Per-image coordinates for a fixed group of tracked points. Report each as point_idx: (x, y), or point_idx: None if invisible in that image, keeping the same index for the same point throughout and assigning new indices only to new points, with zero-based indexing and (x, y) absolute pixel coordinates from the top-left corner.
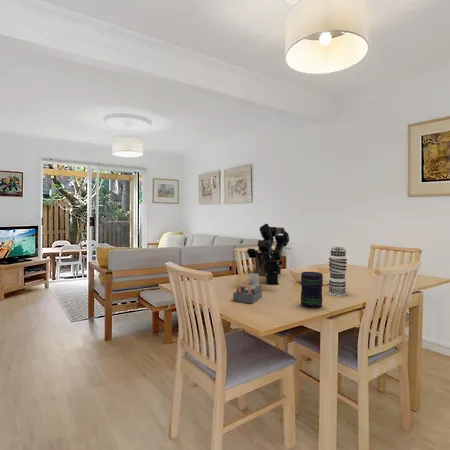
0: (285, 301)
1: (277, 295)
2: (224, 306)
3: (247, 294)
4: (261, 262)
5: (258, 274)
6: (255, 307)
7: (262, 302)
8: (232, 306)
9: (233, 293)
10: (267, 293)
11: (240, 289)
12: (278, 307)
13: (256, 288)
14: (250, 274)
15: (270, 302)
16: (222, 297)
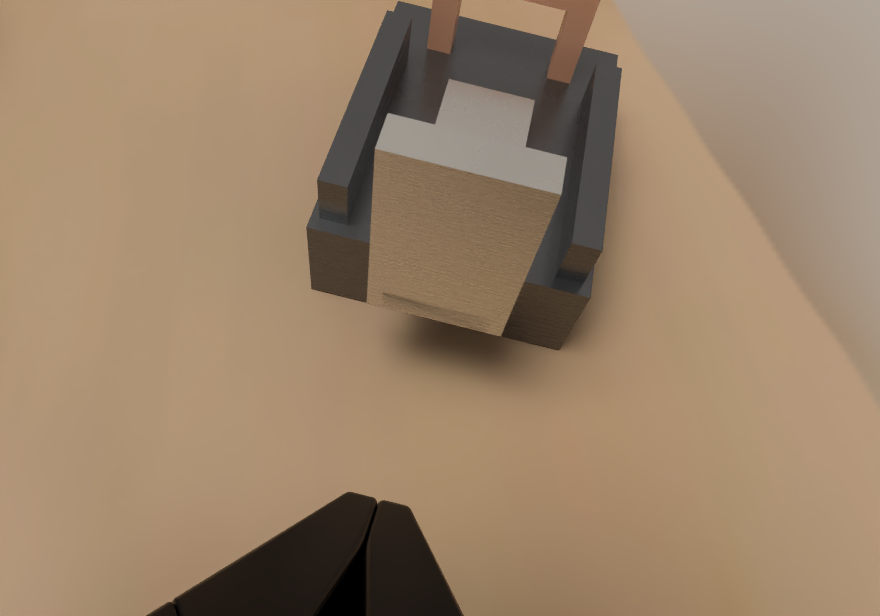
0: (22, 185)
1: (72, 433)
2: (606, 7)
3: (459, 27)
4: (324, 555)
5: (376, 149)
6: (356, 5)
7: (298, 124)
8: (546, 11)
9: (614, 59)
10: (226, 521)
11: (559, 36)
12: (146, 19)
13: (372, 54)
14: (546, 167)
15: (211, 133)
16: (742, 220)
